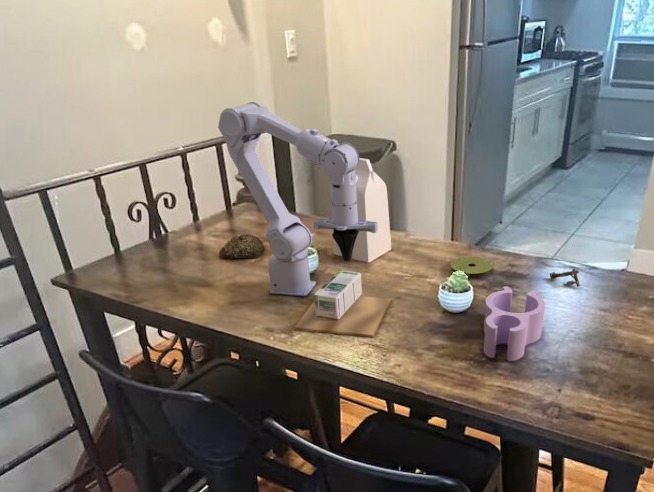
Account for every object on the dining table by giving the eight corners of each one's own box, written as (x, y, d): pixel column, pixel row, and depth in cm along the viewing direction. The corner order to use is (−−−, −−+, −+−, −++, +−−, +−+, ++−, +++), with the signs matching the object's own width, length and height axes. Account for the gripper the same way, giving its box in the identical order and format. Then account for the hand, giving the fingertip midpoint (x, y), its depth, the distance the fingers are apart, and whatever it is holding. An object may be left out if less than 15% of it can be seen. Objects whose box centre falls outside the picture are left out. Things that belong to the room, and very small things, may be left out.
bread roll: (260, 260, 167) (257, 243, 164) (216, 260, 167) (213, 243, 165) (269, 243, 178) (267, 227, 175) (228, 243, 178) (225, 227, 176)
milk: (391, 249, 173) (389, 156, 159) (368, 262, 164) (364, 166, 151) (357, 241, 178) (353, 151, 164) (333, 254, 170) (326, 160, 156)
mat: (481, 283, 152) (482, 276, 151) (442, 274, 157) (442, 267, 156) (499, 268, 160) (500, 261, 159) (461, 259, 165) (462, 253, 164)
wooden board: (294, 329, 133) (294, 327, 133) (320, 294, 148) (320, 292, 148) (372, 337, 130) (372, 334, 129) (391, 300, 145) (391, 298, 144)
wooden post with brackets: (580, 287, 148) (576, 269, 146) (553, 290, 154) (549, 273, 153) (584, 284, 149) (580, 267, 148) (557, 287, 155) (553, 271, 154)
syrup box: (361, 272, 144) (336, 296, 132) (362, 294, 147) (338, 320, 135) (339, 269, 145) (312, 293, 134) (341, 291, 148) (315, 317, 137)
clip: (530, 365, 120) (534, 334, 116) (470, 354, 123) (471, 324, 120) (546, 320, 135) (549, 292, 132) (491, 311, 139) (494, 284, 135)
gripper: (306, 206, 131) (312, 264, 138) (370, 209, 128) (373, 268, 135) (317, 196, 137) (322, 252, 144) (379, 199, 134) (381, 256, 141)
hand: (347, 259), depth 140 cm, fingers closed
